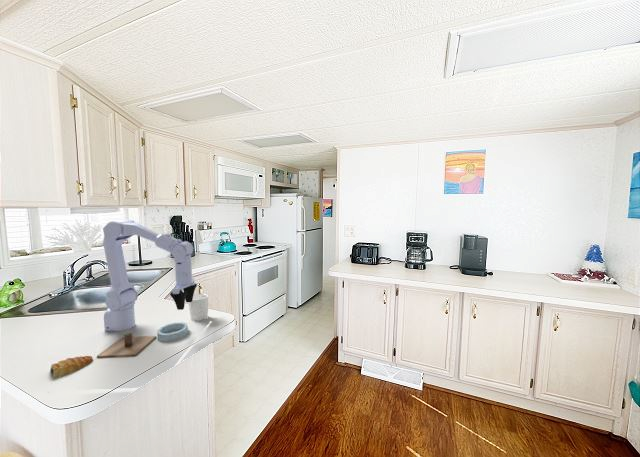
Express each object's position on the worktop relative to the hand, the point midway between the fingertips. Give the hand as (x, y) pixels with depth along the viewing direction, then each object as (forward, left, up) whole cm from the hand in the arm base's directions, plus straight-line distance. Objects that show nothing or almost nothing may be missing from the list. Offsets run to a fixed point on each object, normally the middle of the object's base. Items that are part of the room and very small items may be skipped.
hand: (185, 305), depth 103 cm
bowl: (-2, -6, -10) cm, 12 cm away
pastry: (-24, -25, -10) cm, 36 cm away
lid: (-13, -14, -9) cm, 21 cm away
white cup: (+2, +9, -10) cm, 14 cm away
